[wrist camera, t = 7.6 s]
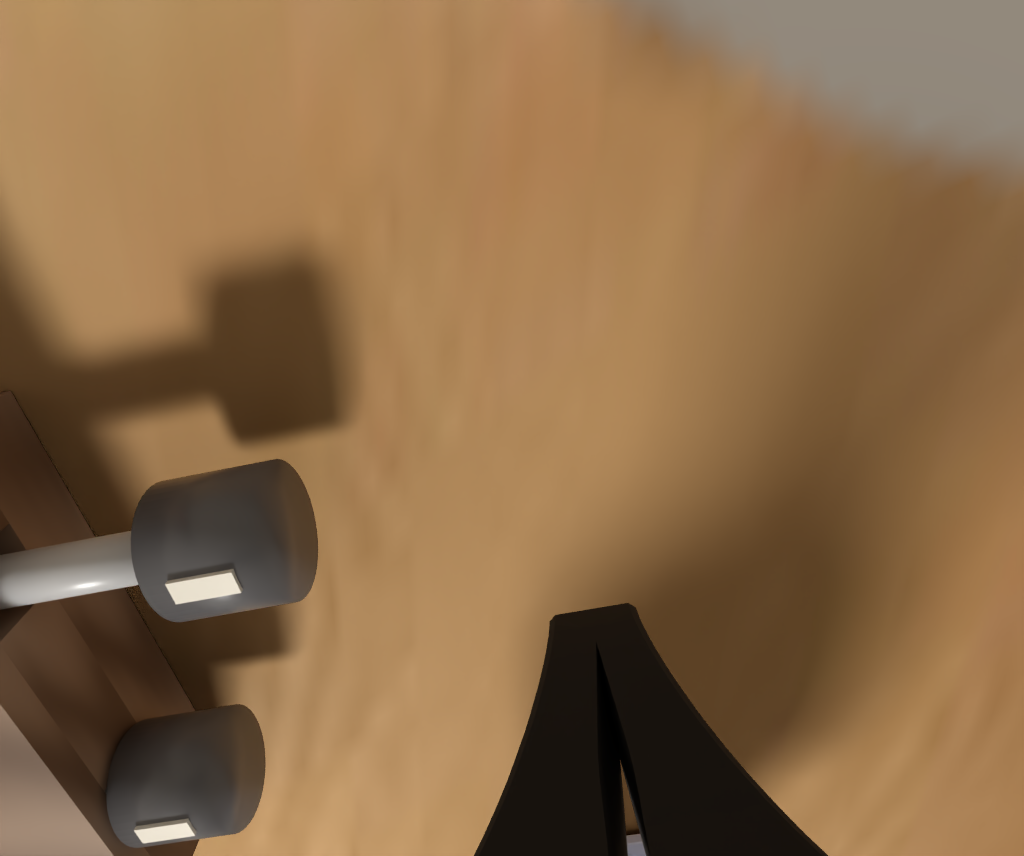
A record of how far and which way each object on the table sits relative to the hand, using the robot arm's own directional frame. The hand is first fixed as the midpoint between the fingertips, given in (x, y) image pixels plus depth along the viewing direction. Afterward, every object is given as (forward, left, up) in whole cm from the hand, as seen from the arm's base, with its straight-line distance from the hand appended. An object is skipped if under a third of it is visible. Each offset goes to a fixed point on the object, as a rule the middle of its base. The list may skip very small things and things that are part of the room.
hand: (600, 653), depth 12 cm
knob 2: (-8, +16, -8) cm, 20 cm away
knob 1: (0, +12, -8) cm, 14 cm away
